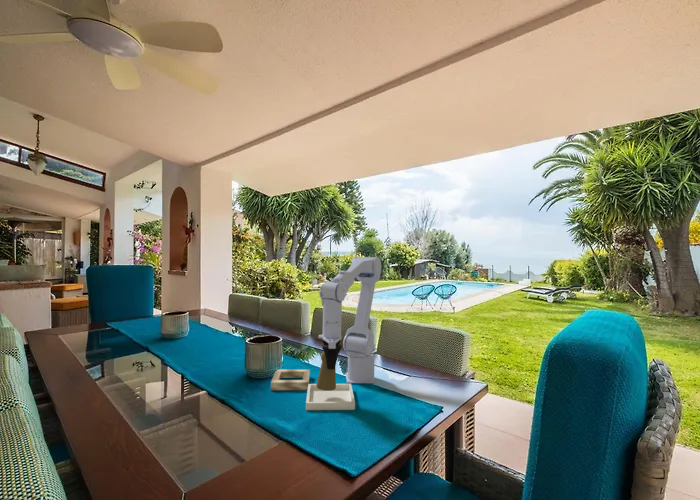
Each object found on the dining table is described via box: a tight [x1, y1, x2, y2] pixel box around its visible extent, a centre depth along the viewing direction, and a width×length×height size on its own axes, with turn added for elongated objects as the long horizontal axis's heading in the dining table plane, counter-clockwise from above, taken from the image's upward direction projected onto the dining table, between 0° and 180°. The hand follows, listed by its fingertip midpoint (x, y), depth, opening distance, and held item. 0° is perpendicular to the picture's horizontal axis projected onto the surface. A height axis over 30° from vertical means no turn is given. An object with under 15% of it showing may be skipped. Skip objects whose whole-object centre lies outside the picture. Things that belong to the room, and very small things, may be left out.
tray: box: [305, 383, 356, 411], centre depth 103 cm, size 14×14×2 cm
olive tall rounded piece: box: [316, 351, 339, 391], centre depth 103 cm, size 6×6×11 cm
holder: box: [270, 369, 311, 391], centre depth 115 cm, size 12×12×2 cm
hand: (330, 365), depth 103 cm, fingers closed on olive tall rounded piece, 5 cm apart
